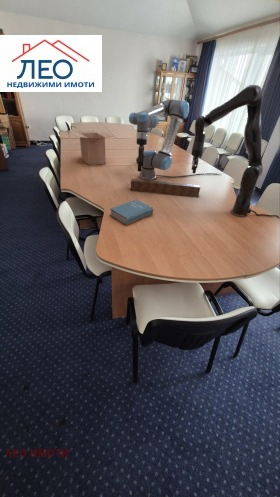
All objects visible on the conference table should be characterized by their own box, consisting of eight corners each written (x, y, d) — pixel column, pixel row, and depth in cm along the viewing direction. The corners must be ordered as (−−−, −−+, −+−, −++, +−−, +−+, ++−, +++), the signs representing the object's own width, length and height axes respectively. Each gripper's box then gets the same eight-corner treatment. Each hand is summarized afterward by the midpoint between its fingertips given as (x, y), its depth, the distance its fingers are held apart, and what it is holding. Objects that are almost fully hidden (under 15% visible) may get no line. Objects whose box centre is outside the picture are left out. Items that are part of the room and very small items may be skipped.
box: (116, 165, 229) (116, 136, 213) (83, 168, 214) (80, 137, 198) (102, 154, 259) (101, 128, 243) (71, 156, 244) (68, 129, 228)
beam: (130, 190, 178) (131, 180, 173) (131, 188, 181) (131, 178, 177) (198, 197, 175) (200, 187, 171) (197, 195, 179) (199, 185, 174)
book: (135, 206, 155) (136, 199, 152) (152, 214, 146) (153, 207, 143) (110, 215, 142) (110, 208, 139) (127, 225, 133) (127, 218, 130)
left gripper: (145, 142, 147) (143, 174, 160) (148, 135, 166) (146, 164, 179) (134, 141, 147) (133, 173, 160) (138, 134, 167) (137, 163, 180)
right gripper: (204, 151, 151) (199, 174, 160) (201, 146, 162) (197, 169, 172) (193, 150, 151) (189, 174, 161) (191, 146, 163) (187, 168, 172)
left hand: (140, 168), depth 170 cm, fingers open, 13 cm apart
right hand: (193, 171), depth 166 cm, fingers open, 8 cm apart
